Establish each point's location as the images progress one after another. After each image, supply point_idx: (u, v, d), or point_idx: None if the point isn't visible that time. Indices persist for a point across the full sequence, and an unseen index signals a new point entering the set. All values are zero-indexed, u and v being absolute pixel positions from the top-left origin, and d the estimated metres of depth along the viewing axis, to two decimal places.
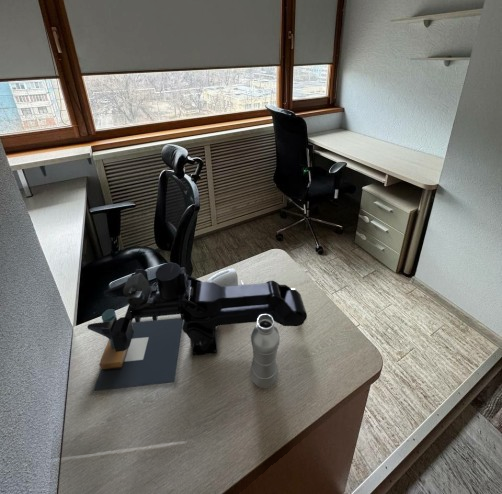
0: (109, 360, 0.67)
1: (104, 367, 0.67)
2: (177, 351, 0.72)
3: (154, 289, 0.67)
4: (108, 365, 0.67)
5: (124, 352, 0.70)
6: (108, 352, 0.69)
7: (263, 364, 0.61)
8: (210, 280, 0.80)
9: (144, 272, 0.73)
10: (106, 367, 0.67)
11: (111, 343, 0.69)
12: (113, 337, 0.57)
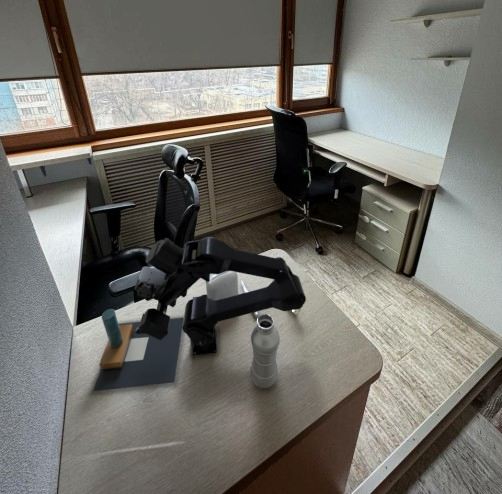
0: (109, 360, 0.67)
1: (104, 367, 0.67)
2: (177, 351, 0.72)
3: None
4: (108, 365, 0.67)
5: (124, 352, 0.70)
6: (108, 352, 0.69)
7: (263, 364, 0.61)
8: (210, 280, 0.80)
9: None
10: (106, 367, 0.67)
11: (111, 343, 0.69)
12: (143, 330, 0.57)
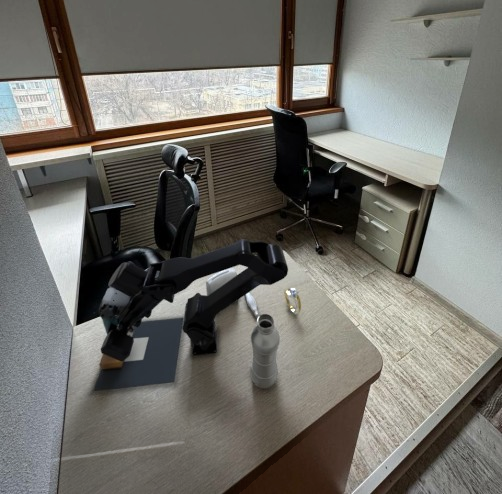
0: (109, 360, 0.67)
1: (104, 367, 0.67)
2: (177, 351, 0.72)
3: None
4: (108, 365, 0.67)
5: None
6: None
7: (263, 364, 0.61)
8: (210, 280, 0.80)
9: None
10: (106, 367, 0.67)
11: None
12: (104, 352, 0.59)
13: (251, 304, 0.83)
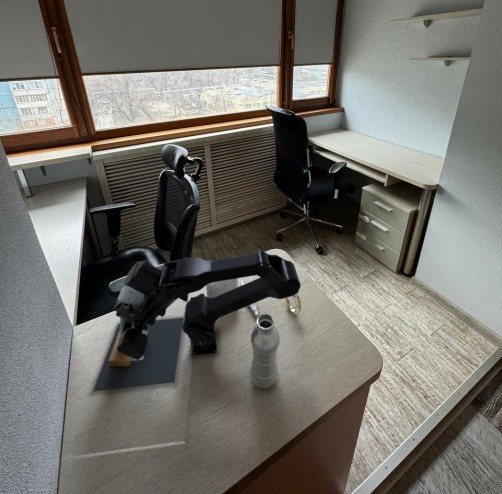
0: (118, 358, 0.67)
1: (112, 364, 0.67)
2: (177, 351, 0.72)
3: None
4: (117, 363, 0.67)
5: None
6: None
7: (263, 364, 0.61)
8: None
9: None
10: (114, 364, 0.67)
11: None
12: (120, 351, 0.59)
13: (251, 304, 0.83)
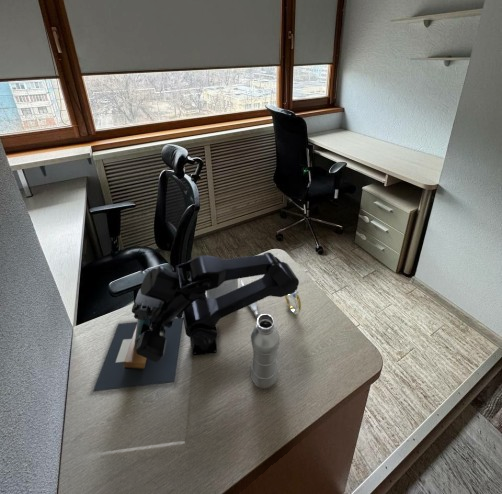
0: (134, 359, 0.67)
1: (127, 365, 0.66)
2: (177, 351, 0.72)
3: None
4: (132, 365, 0.66)
5: None
6: (132, 350, 0.68)
7: (263, 364, 0.61)
8: None
9: None
10: (129, 366, 0.66)
11: (137, 342, 0.69)
12: (139, 353, 0.59)
13: (251, 304, 0.83)
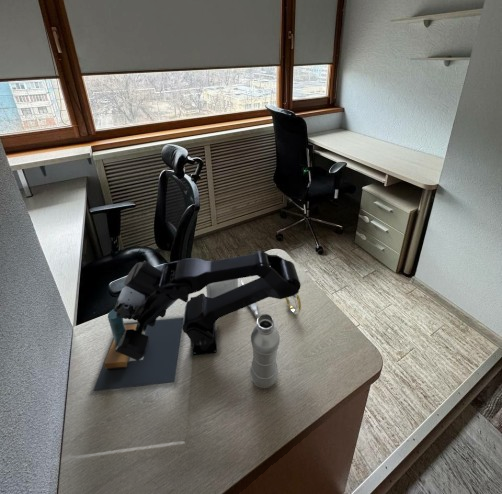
0: (114, 360, 0.67)
1: (109, 366, 0.67)
2: (177, 351, 0.72)
3: None
4: (113, 365, 0.67)
5: None
6: (113, 351, 0.69)
7: (263, 364, 0.61)
8: None
9: None
10: (111, 366, 0.67)
11: (116, 342, 0.69)
12: (121, 351, 0.59)
13: (251, 304, 0.83)
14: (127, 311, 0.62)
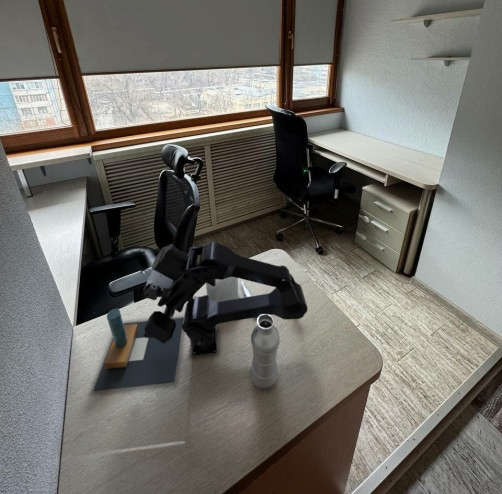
0: (114, 360, 0.67)
1: (109, 367, 0.67)
2: (177, 351, 0.72)
3: None
4: (113, 365, 0.67)
5: (129, 352, 0.70)
6: (112, 351, 0.69)
7: (263, 364, 0.61)
8: None
9: None
10: (111, 367, 0.67)
11: (116, 343, 0.69)
12: (147, 332, 0.59)
13: None
14: (155, 291, 0.62)
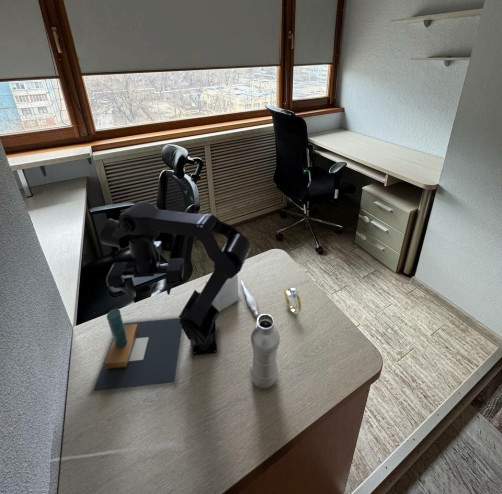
0: (114, 360, 0.67)
1: (109, 367, 0.67)
2: (177, 351, 0.72)
3: None
4: (113, 365, 0.67)
5: (129, 352, 0.70)
6: (112, 351, 0.69)
7: (263, 364, 0.61)
8: None
9: (179, 258, 0.73)
10: (111, 367, 0.67)
11: (116, 343, 0.69)
12: None
13: (251, 304, 0.83)
14: None
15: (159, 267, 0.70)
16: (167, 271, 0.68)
